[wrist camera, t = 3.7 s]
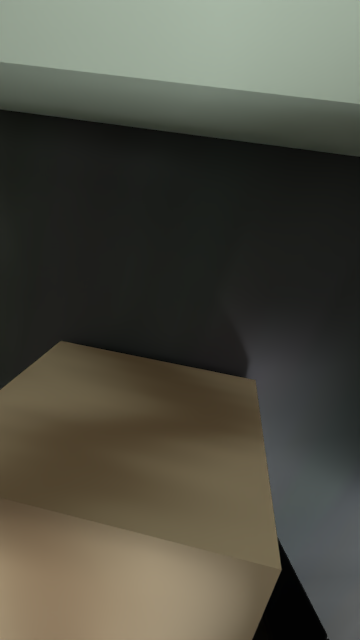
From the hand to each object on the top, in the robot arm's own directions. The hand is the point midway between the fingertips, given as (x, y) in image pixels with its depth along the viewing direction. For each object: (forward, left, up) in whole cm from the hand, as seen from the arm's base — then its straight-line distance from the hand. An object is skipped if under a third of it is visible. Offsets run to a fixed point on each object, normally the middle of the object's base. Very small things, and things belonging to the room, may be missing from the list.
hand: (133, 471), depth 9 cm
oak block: (0, 0, -1) cm, 1 cm away
